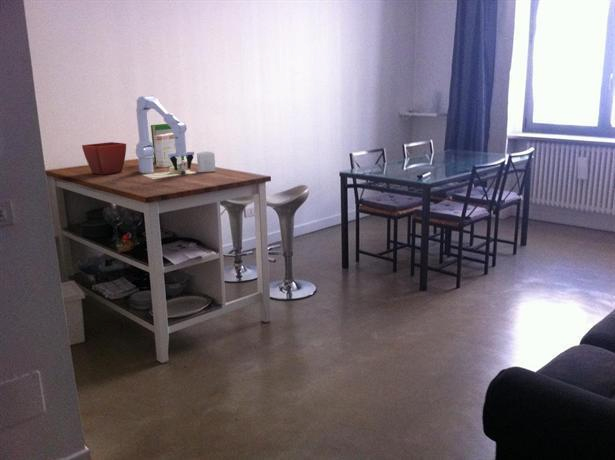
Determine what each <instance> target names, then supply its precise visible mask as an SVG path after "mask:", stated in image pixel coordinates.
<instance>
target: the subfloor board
mask: <svg viewBox="0 0 615 460" xmlns="http://www.w3.org/2000/svg"><path fill="white" fill-rule="evenodd" d="M192 174H197V172H196V171H192V170H190V169H186V174H181V173H177V174H172V173H170V170H168V171H162V172H152V173H144V174H142V176H144V177H146V178H149V179H152V180H156V179H162V178H163V179H164V178H169V177H170V178H171V177H177V176H185V175H192Z"/></svg>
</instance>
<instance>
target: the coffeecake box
mask: <svg viewBox="0 0 615 460" xmlns="http://www.w3.org/2000/svg"><path fill="white" fill-rule="evenodd" d="M154 145H155V154H156V162H155V163H156V168H168V167H172V166H173V163H172V162H171V160H170V158H168V154H173V153H176V148H175V137H174V134H173V133H168V134H161V135H154ZM179 156H181V155H179ZM175 158H177V165H180V163H183V162H182V161H181V157H175Z"/></svg>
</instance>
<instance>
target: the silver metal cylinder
mask: <svg viewBox="0 0 615 460" xmlns="http://www.w3.org/2000/svg"><path fill="white" fill-rule="evenodd" d="M179 165H180V173H181V174H186V171H185V166H186V163H185V162H182V163H180V164H179Z"/></svg>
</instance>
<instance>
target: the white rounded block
mask: <svg viewBox="0 0 615 460" xmlns="http://www.w3.org/2000/svg"><path fill="white" fill-rule="evenodd" d="M215 158H216V157H215V152H214V151H212V150H209V149H207V150H201V151H198V153H196V159H197V160H196V161H197V171H198V172H197V173H204V172H205V173H213V172H216V159H215Z"/></svg>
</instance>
